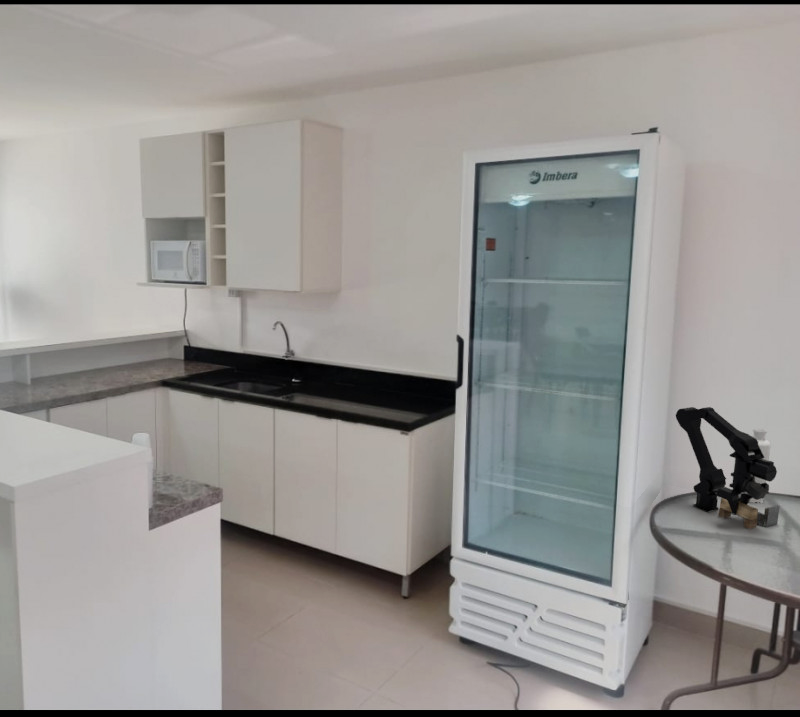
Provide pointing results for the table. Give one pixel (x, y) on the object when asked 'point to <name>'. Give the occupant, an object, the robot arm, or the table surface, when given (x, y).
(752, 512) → the rail
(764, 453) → the bottle
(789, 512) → the table surface
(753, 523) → the pair of brown blocks
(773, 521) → the bracket
